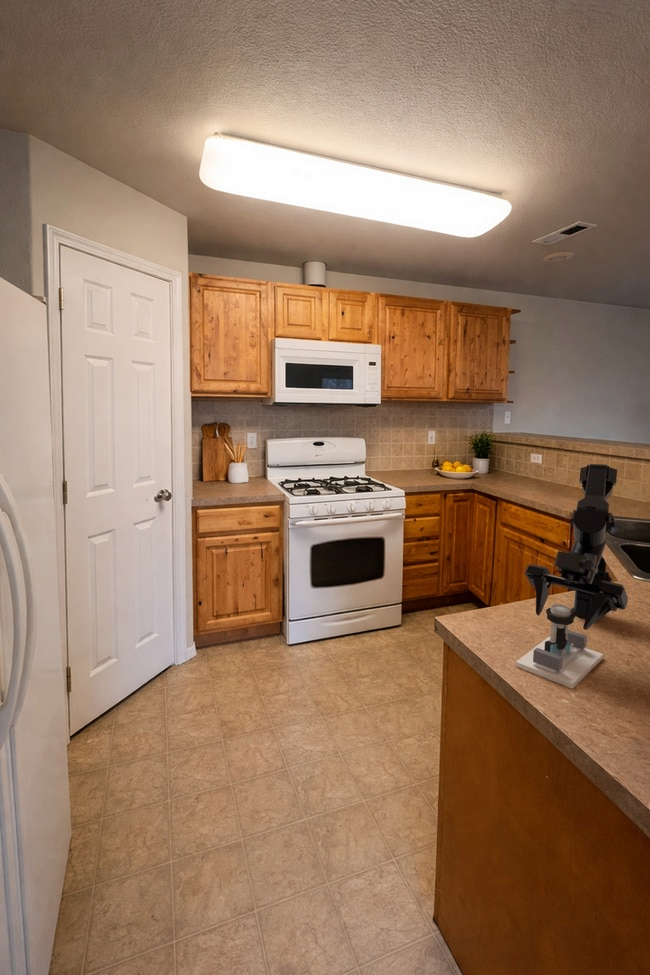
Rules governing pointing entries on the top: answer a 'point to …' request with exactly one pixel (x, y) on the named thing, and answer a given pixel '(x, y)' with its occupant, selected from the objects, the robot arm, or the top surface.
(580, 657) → the rail board
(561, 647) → the push button
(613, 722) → the top surface
